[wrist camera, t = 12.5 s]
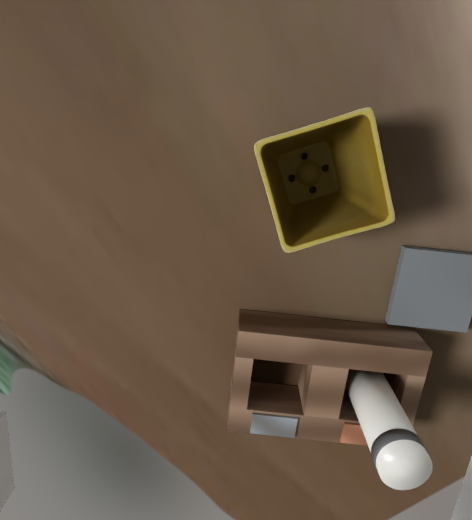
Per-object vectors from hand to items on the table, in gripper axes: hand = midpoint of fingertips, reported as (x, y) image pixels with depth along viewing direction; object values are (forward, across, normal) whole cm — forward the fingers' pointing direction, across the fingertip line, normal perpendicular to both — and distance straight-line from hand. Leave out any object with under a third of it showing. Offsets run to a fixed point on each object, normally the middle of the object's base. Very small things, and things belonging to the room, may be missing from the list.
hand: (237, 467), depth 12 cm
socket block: (+30, +9, -15) cm, 35 cm away
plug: (+30, +14, -15) cm, 37 cm away
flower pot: (+31, +6, +5) cm, 32 cm away
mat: (+30, +20, -5) cm, 37 cm away
